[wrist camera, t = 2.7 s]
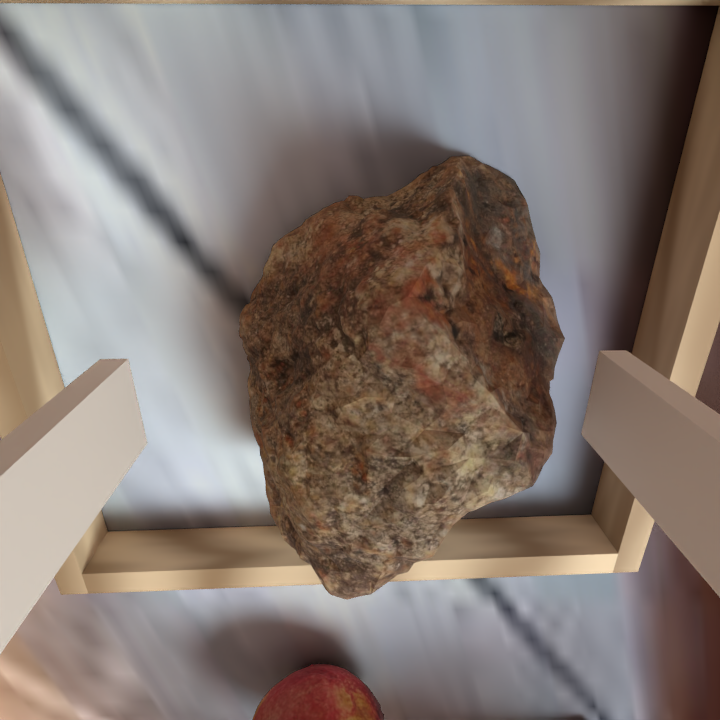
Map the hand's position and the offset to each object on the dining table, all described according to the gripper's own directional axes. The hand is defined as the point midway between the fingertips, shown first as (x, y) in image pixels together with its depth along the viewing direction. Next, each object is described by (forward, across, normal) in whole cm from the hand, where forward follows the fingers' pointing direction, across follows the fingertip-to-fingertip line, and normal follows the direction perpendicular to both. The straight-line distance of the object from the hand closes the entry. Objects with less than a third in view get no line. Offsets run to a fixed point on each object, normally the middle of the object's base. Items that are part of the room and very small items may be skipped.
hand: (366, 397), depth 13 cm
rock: (+7, +1, 0) cm, 7 cm away
